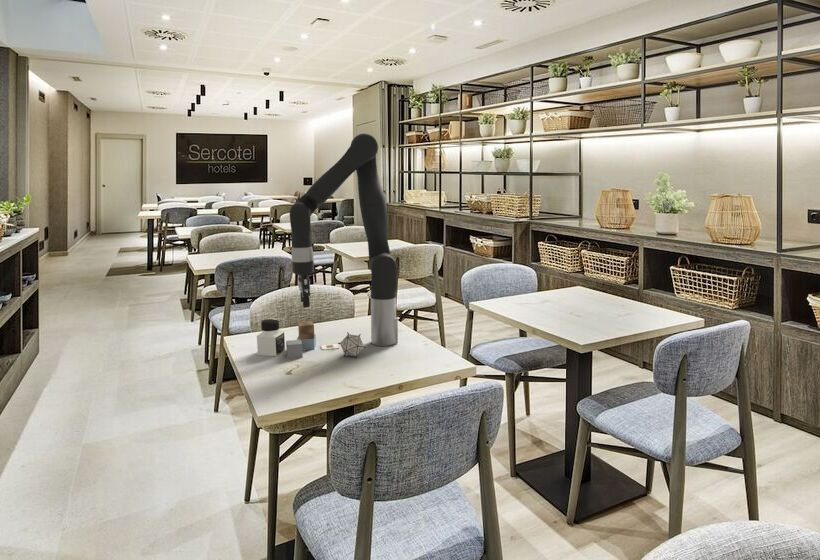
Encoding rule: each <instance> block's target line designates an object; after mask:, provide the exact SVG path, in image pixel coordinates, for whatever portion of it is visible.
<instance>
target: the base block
mask: <svg viewBox="0 0 820 560" xmlns="http://www.w3.org/2000/svg"><path fill="white" fill-rule="evenodd" d="M316 336H317V335H316V333H314V338H312V339H301V342H302V351H304V350H307V349H308V350H315V348H316V346H317V337H316ZM296 340H300V338H299V335H298V336H297V338H296ZM308 350H307V351H308Z"/></svg>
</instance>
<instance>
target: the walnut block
mask: <svg viewBox="0 0 820 560" xmlns="http://www.w3.org/2000/svg"><path fill="white" fill-rule="evenodd" d="M297 324H298V325H297V326H298V327H297V329H298V330H297V331H298V336H299V338H300V340H301V339H312V338H314V334H315V325H314V323H313V321H312V320H311V321H309V320H307V321H300V322H299V321H298V322H297Z"/></svg>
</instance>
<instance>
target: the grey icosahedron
mask: <svg viewBox="0 0 820 560" xmlns="http://www.w3.org/2000/svg"><path fill="white" fill-rule="evenodd" d="M361 335H362V333H359V334H358V335H357V334H350V333H349V332H347V334H346V336H345V338H343V340H342V341H341V342H337V345H340V347H341V349H342V352H343V357H346V356H351V357H355V359H358V355H359V354H360V353H361V352H362V351H363V349H366V348H367V346H366V345H364V344H363V340H362V338H361Z"/></svg>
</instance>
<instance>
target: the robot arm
mask: <svg viewBox="0 0 820 560" xmlns="http://www.w3.org/2000/svg"><path fill="white" fill-rule="evenodd" d="M378 151H379V143H378V140H377V139H376V137H375V136H373V135H372V134H370V133H366V132H365V133H360V134H357V135H356V136H355V137H353V138H352V140H351V142H350V145H349V147H348V148H347V150H346V152H345V153H344V154H343V155H342V156H341V157H340V158H339V160H338V161H337V162H336V163H335V164H334V165H332V166H331V167H330V168H329V169H328V170H327V171H325V172H324V173H323V174H322V175H321V176H320V177H319V178H318V179H317V180H316V181H315V182H314V183H313V184H312V185H311V186H310V187H309V188H308V190H307V191H306V192H305V193H304V194H303V195H301V196H300V197H299V198H298V199H297V200H296V201H295V202H294V203H293V204H292V205H291V207H290V209H289V221H290V222H289V223H290V229H291V233H290V234H291V236H290V237H291V268H292V270H291V271H292V273H293V274H295V275H298V278H297V283H298V289H299V292H300V302H301V303H302V306H303V308H305V309H306V308H309V307H311V306H310V297H311V285H310V284H311V278H310V277H309V276H308V275H309V274H313V273H314V272H315V262H314V249H313V239H312V237H313V236H312V230H311V216H312V215H313V214H314V213H315V211H317V210H318V208H320V206H322V205H323V204H324V203H326V202H327V201H328V199H330V198H331V197H332V196H333V194H335V193H336V191H338V190H339V188H340V187H341V186H342V185H343V184H344V183H345V181H346V180H348V178H349V177H350V176H351V175H352V174H353V173H355V172H356V177H357V188H358V189H357V190H358V192H357V193H358V202H359V209H360V213H361V214H360V216H361V219H362V223H363V228H364V232H365V235H366V240H367V245H368V246H367V248H368V249H367V250H368V267H369V271H370V274H371V285H370V286H371V288H370V330H371V331H370V334H371V335H370V340H371V341H370V342H371V345H375V346H379V347H380V346H381V347H386V346H393V345H395V344H396V345H397V344H399V343H398V342H399V338H398V337H399V330H398V329H399V323H398V318H397V290H398V265H397V261H396V259H394V257H392V254H391V251H390V245H389V241H388V222H389V221H388V209H387V208H388V207H387V202H386V197H385V193H384V190H383V186H382V183H381V180H380V177H379V173H378V166H377V153H378Z"/></svg>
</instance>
